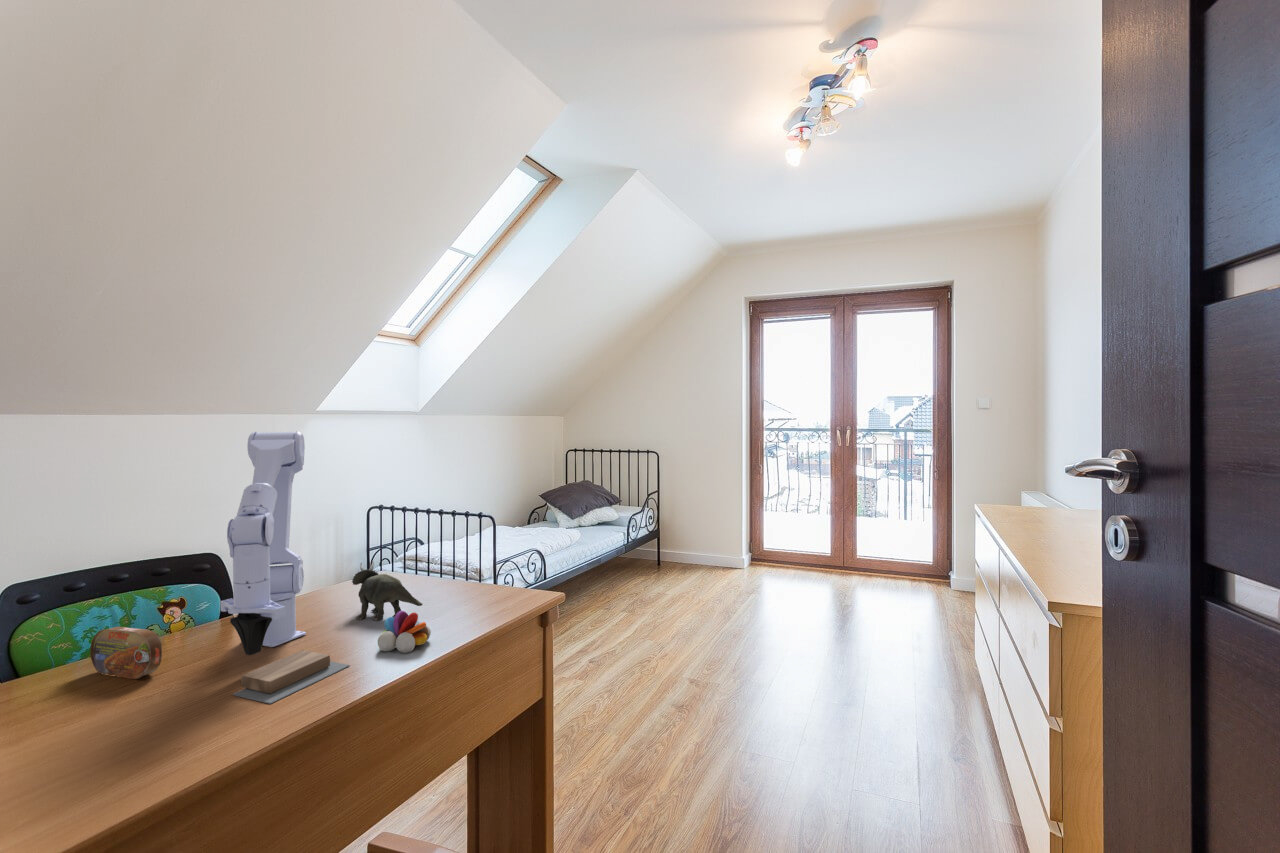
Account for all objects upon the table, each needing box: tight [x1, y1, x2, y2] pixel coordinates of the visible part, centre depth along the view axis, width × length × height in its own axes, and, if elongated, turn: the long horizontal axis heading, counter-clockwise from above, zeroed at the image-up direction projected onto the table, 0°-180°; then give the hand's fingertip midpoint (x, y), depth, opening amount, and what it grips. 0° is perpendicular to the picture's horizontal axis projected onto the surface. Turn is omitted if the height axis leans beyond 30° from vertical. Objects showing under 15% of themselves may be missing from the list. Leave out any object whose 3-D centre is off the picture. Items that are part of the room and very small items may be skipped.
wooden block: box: [240, 649, 331, 693], centre depth 109 cm, size 2×12×7 cm
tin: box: [89, 626, 163, 680], centre depth 111 cm, size 15×3×8 cm, turn 74°
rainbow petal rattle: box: [377, 610, 432, 654], centre depth 123 cm, size 8×10×7 cm
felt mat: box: [232, 660, 351, 705], centre depth 108 cm, size 9×16×1 cm, turn 158°
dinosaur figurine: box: [351, 560, 424, 621], centre depth 142 cm, size 22×8×11 cm, turn 58°
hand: (253, 653), depth 112 cm, fingers closed
